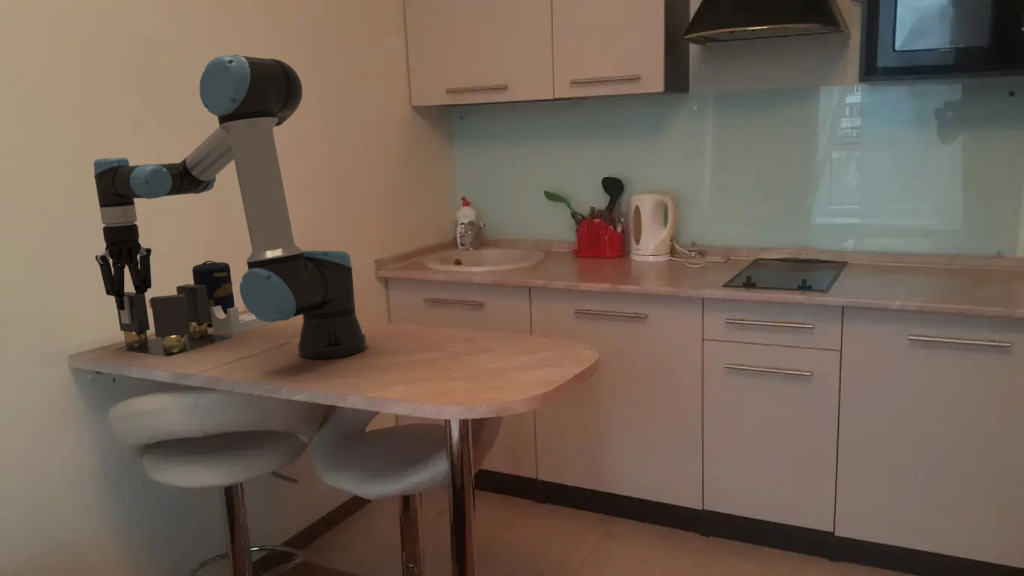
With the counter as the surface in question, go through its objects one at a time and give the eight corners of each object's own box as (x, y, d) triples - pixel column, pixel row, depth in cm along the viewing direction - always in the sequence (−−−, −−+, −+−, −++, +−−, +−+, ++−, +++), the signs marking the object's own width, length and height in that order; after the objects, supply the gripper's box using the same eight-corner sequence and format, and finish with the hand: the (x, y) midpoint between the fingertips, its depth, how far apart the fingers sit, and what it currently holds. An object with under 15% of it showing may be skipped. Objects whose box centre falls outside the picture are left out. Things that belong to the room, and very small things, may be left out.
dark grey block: (192, 345, 188) (185, 293, 186) (189, 350, 184) (182, 296, 181) (159, 349, 187) (152, 296, 184) (155, 354, 182) (147, 300, 180)
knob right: (215, 334, 199) (209, 284, 197) (198, 338, 195) (192, 288, 193) (195, 332, 203) (189, 283, 201) (179, 336, 199) (172, 286, 196)
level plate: (235, 339, 197) (234, 331, 196) (169, 359, 180) (168, 350, 180) (182, 334, 206) (180, 325, 206) (115, 352, 190) (113, 343, 190)
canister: (224, 320, 221) (217, 256, 217) (243, 324, 215) (236, 258, 211) (192, 328, 213) (184, 262, 210) (211, 331, 207) (202, 264, 204)
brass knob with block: (155, 343, 192) (148, 292, 190) (137, 348, 188) (129, 296, 186) (136, 341, 196) (129, 290, 194) (117, 346, 192) (110, 294, 190)
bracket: (233, 338, 199) (229, 309, 198) (213, 336, 203) (210, 307, 201) (272, 327, 210) (269, 299, 209) (253, 325, 214) (250, 298, 212)
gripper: (140, 220, 195) (153, 313, 200) (77, 228, 182) (92, 327, 186) (159, 220, 192) (172, 315, 196) (97, 228, 178) (112, 330, 182)
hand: (133, 321), depth 191 cm, fingers closed on brass knob with block, 3 cm apart
